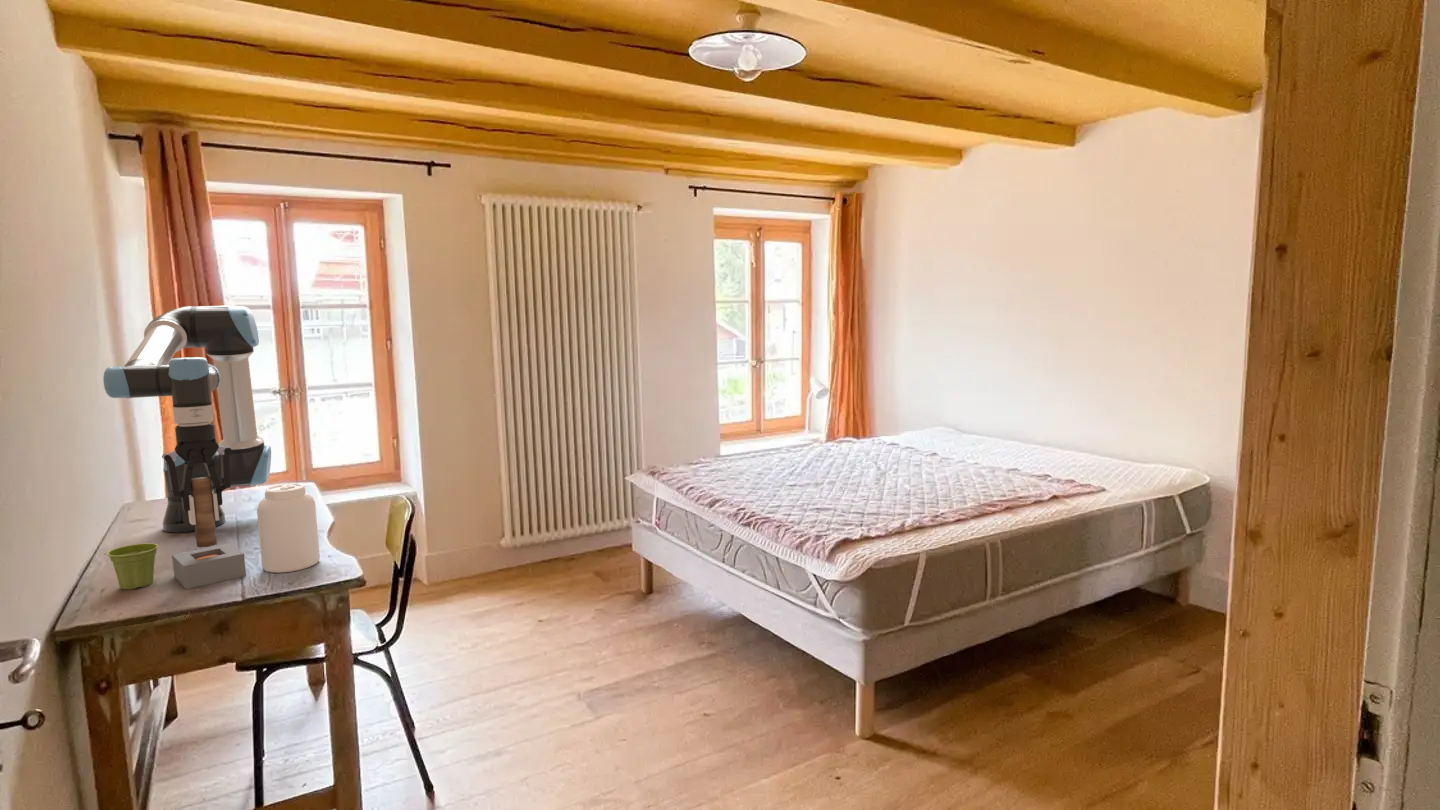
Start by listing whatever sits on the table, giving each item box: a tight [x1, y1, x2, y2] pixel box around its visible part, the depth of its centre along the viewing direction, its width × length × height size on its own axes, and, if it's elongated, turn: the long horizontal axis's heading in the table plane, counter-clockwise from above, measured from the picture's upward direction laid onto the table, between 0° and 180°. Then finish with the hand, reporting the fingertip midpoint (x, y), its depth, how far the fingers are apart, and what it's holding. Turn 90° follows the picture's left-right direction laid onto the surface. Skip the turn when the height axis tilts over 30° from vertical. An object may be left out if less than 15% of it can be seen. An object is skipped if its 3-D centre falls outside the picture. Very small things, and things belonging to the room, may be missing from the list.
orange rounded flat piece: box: [196, 555, 218, 560], centre depth 180 cm, size 5×5×2 cm
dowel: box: [191, 477, 218, 548], centre depth 178 cm, size 4×4×16 cm
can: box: [256, 483, 321, 574], centre depth 186 cm, size 12×12×20 cm
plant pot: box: [106, 542, 159, 590], centre depth 175 cm, size 9×9×9 cm
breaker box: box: [171, 542, 247, 590], centre depth 180 cm, size 12×12×6 cm
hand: (204, 521), depth 179 cm, fingers closed on dowel, 4 cm apart
